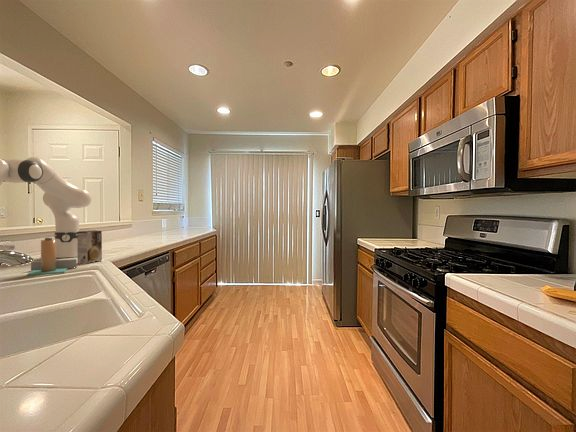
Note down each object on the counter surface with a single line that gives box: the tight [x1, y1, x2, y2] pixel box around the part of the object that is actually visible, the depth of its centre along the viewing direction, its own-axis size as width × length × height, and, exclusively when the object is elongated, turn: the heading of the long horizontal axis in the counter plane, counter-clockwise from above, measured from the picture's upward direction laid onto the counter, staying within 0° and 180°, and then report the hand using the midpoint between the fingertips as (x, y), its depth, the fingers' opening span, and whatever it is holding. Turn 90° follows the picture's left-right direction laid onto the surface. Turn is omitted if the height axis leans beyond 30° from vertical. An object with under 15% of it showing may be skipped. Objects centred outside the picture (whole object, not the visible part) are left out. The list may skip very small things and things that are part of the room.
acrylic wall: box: [30, 258, 77, 272], centre depth 135 cm, size 1×16×4 cm, turn 119°
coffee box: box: [76, 229, 103, 264], centre depth 155 cm, size 9×6×16 cm
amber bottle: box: [40, 237, 57, 272], centre depth 129 cm, size 5×5×14 cm
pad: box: [27, 268, 68, 276], centre depth 129 cm, size 9×12×1 cm
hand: (11, 248), depth 123 cm, fingers open, 8 cm apart
